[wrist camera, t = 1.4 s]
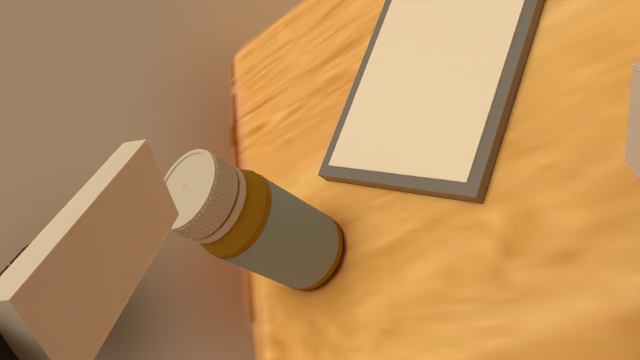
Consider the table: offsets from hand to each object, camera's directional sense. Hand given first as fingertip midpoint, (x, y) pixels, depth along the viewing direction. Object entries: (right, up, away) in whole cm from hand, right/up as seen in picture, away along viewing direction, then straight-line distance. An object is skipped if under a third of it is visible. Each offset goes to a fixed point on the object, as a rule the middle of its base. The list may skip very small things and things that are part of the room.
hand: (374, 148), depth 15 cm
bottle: (-2, -8, +33) cm, 34 cm away
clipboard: (+9, +8, +33) cm, 35 cm away
